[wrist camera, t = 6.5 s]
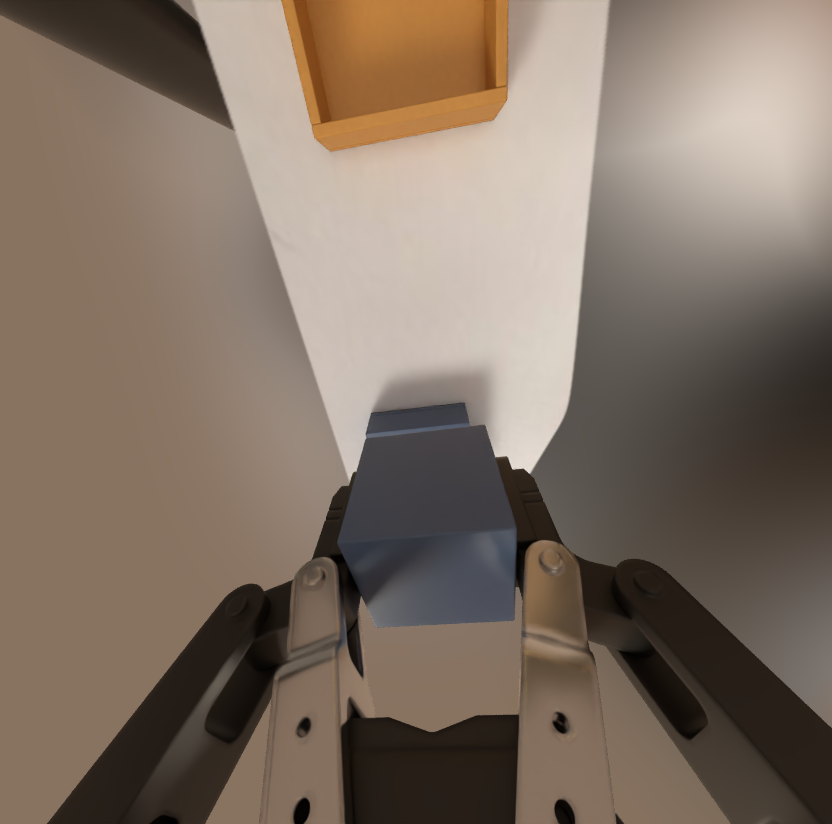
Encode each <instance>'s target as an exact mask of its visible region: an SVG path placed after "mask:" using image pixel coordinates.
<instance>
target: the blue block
mask: <svg viewBox="0 0 832 824" xmlns="http://www.w3.org/2000/svg"><path fill="white" fill-rule="evenodd" d="M337 543H338V546H339V548H340V550H341V552H342V554H343V557H344V559H345V561H346V563H347V565H348V568H349V570H350V572H351V574H352V576H353V578H354V581H355V583H356V585H357V587H358V589H359V592H360V594H361V596H362V598H363V600H364V602H365V605H366V607H367V609H368V611H369V613H370V615H371V618H372V620H373V622H374V624H375V626H376V627H377V628H379V627H399V626H418V625H438V624H456V623H457V624H458V623H477V622H497V621H513V620H514V619H515V587H516V549H517V526H516V523H515V520H514V517H513V513H512V510H511V507H510V504H509V500H508V497H507V494H506V491H505V488H504V484H503V481H502V478H501V475H500V471H499V468H498V465H497V462H496V458H495V455H494V452H493V449H492V446H491V442H490V439H489V436H488V433H487V429H486V426H485V425H478V426H469V427H460V428H452V429H443V430H434V431H426V432H417V433H408V434H399V435H391V436H382V437H373V438H367V439H366V440H365V443H364V447H363V451H362V454H361V458H360V462H359V465H358V469H357V473H356V476H355V480H354V483H353V487H352V491H351V494H350V498H349V502H348V505H347V509H346V513H345V516H344V520H343V524H342V527H341V531H340V534H339V538H338V542H337Z"/></svg>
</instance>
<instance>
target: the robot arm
mask: <svg viewBox="0 0 832 824" xmlns="http://www.w3.org/2000/svg"><path fill="white" fill-rule="evenodd" d="M495 458H496V462H497V465H498V468H499V471H500V475H501V478H502V481H503V484H504V488H505V491H506V494H507V497H508V500H509V504H510V507H511V510H512V513H513V517H514V520H515V523H516V526H517V549H516V587H519V589H520V593H521V596H522V600H523V606H522V631H521V632H522V633H521V658H520V682H519V706H518V707H519V708H518V715H481V716H480V715H478V716H474V717H471V718H469V719H466V720H464V721H462V722H459V723H457V724H454V725H451V726H449V727H446V728H444V729H441V730H439V731H436V732H428V731H425V730H422V729H419V728H417V727H414V726H411V725H409V724H406V723H403V722H400V721H398V720H395V719H392V718H389V717H386V718H385V717H384V718H376V715H375V709H374V703H373V699H372V695H371V692H370V688H369V683H368V677H367V669H366V662H365V653H364V643H363V635H362V627H361V619H360V618H361V617H360V613H359V604H360V598H361V594H360V592H359V589H358V587H357V585H356V583H355V581H354V578H353V576H352V574H351V572H350V570H349V568H348V565H347V563H346V561H345V559H344V557H343V554H342V552H341V550H340V548H339V546H338V543H337V542H338V538H339V534H340V531H341V527H342V524H343V520H344V516H345V513H346V509H347V505H348V502H349V498H350V494H351V491H352V487H353V483H354V480H355V476H356V473H357V472H354V473H353V474H352V477H351V481H350V484H349V486H342V487H341V488H340V489H339V490H338V491H337V493H336V494H335V495H334V496H333V498H332V502H331V504H330V507H329V511H328V513H327V516H326V521H325V522H324V525H323V528H322V531H321V535H320V538H319V540H318V543H317V546H316V549H315V552H314V555H313V558H312V560H311V561H309V562H307V563H306V564H305V565H303V566H302V567H301V568H300V570H299V571H298V572H297V573H296V575H295V577H294V579H293V580H291V581H289V582H287V583H284V584H282V585H279V586H277V587H274V588H272V589H269V590H267V591H263V589H262V588H261V587H260V586H259V585H257V584H246V585H243V586H241V587H239V588H237V589H235V590H234V591H232V592H231V593H230V594H228V595H227V596H226V597H225V598H224V600H223V601H222V602H221V603H220V604H219V606H218V607H217V608H216V609H215V611H214V612H213V613H212V614H211V616H210V617H209V619H208V620H207V621H206V622H205V623H204V625H203V626H202V627H201V628H200V630H199V631H198V632H197V634H196V635H195V636H194V638H193V639H192V640H191V641H190V642H189V644H188V645H187V646H186V648H185V649H184V650H183V652H182V653H181V654H180V655H179V656H178V658H177V659H176V660H175V662H174V663H173V664H172V665H171V667H170V668H169V669H168V671H167V672H166V673H165V674H164V676H163V677H162V678H161V679H160V681H159V682H158V683H157V684H156V686H155V687H154V688H153V690H152V691H151V692H150V693H149V695H148V696H147V697H146V699H145V700H144V701H143V702H142V704H141V705H140V706H139V707H138V709H137V710H136V711H135V713H134V714H133V715H132V716H131V718H130V719H129V720H128V721H127V723H126V724H125V725H124V727H123V728H122V729H121V731H120V732H119V733H118V734H117V736H116V737H115V738H114V739H113V741H112V742H111V743H110V744H109V746H108V747H107V748H106V750H105V751H104V752H103V753H102V755H101V756H100V757H99V758H98V760H97V761H96V762H95V763H94V765H93V766H92V767H91V769H90V770H89V771H88V772H87V774H86V775H85V776H84V778H83V779H82V780H81V781H80V783H79V784H78V785H77V786H76V788H75V789H74V790H73V791H72V793H71V794H70V796H69V797H68V798H67V799H66V800H65V802H64V803H63V804H62V805H61V807H60V808H59V809H58V811H57V812H56V813H55V814H54V816H53V817H52V818H51V819H50V821H49V822H48V823H47V824H205V823H206V820H207V819H208V817H209V815H210V813H211V811H212V810H213V808H214V806H215V804H216V802H217V800H218V798H219V796H220V794H221V792H222V790H223V789H224V787H225V785H226V783H227V781H228V779H229V777H230V776H231V774H232V772H233V770H234V768H235V766H236V764H237V762H238V760H239V759H240V757H241V755H242V753H243V751H244V749H245V747H246V745H247V743H248V742H249V740H250V738H251V736H252V734H253V732H254V730H255V728H256V726H257V725H258V722H259V721H260V719H261V717H262V715H263V713H264V711H265V709H266V708H267V706H268V704H269V702H270V700H271V698H272V700H271V709H270V720H269V730H268V740H267V750H266V760H265V769H264V779H263V788H262V799H261V808H260V819H259V824H624V823H623V822H622V820H621V819H620V818H619V817H618V815H617V814H616V813H615V809H614V801H613V793H612V785H611V778H610V769H609V761H608V753H607V746H606V738H605V730H604V722H603V715H602V707H601V698H600V691H599V683H598V675H597V668H596V663H595V659H594V656H593V653H592V652H591V651H590V649H589V644H588V641H592V642H595V643H597V644H601V645H604V646H606V647H607V648H608V650H609V651H610V653H611V654H612V656H613V657H614V658H615V660H616V661H617V663H618V664H619V666H620V667H621V668H622V670H623V671H624V673H625V674H626V676H627V677H628V678H629V680H630V681H631V683H632V684H633V685H634V687H635V688H636V690H637V691H638V693H639V694H640V695H641V697H642V698H643V700H644V701H645V702H646V704H647V705H648V707H649V708H650V709H651V711H652V712H653V714H654V715H655V717H656V718H657V720H658V721H659V722H660V724H661V725H662V727H663V728H664V729H665V731H666V732H667V734H668V735H669V737H670V738H671V739H672V741H673V742H674V744H675V745H676V746H677V748H678V749H679V751H680V752H681V754H682V755H683V756H684V758H685V759H686V761H687V762H688V764H689V765H690V766H691V767H692V769H693V771H694V772H695V773H696V775H697V776H698V778H699V779H700V781H701V782H702V783H703V785H704V786H705V788H706V789H707V791H708V792H709V793H710V795H711V796H712V798H713V799H714V800H715V802H716V803H717V805H718V806H719V808H720V809H721V810H722V812H723V813H724V815H725V816H726V817H727V819H728V820H729V822H730V823H731V824H832V728H831V727H830V726H828V725H827V723H825V722H824V721H823V720H822V719H821V718H820V717H819V716H818V715H817V714H816V713H815V712H814V711H813V710H812V709H811V708H810V707H809V706H807V704H805V703H804V702H803V701H802V700H801V699H800V698H799V697H798V696H797V695H796V694H795V693H794V692H793V691H792V690H791V689H790V688H789V687H788V686H786V685H785V684H784V683H783V682H782V681H781V680H780V679H779V678H778V677H777V676H776V675H775V674H774V673H773V672H772V671H771V670H770V669H769V668H768V667H766V666H765V665H764V664H763V663H762V662H761V661H760V660H759V659H758V658H757V657H756V656H755V655H754V654H753V653H752V652H751V651H750V650H749V649H748V648H746V647H745V646H744V645H743V644H742V643H741V642H740V641H739V640H738V639H737V638H736V637H735V636H734V635H733V634H732V633H731V632H730V631H729V630H728V629H726V628H725V627H724V626H723V625H722V624H721V623H720V622H719V621H718V620H717V619H716V618H715V617H714V616H713V615H712V614H711V613H710V612H709V611H708V610H706V608H704V607H703V606H702V605H701V604H700V603H699V602H698V601H697V600H696V599H695V598H694V597H693V596H692V595H691V594H690V593H689V592H688V591H687V590H685V589H684V588H683V587H682V586H681V585H680V584H679V583H678V582H677V581H676V580H675V579H674V578H673V577H672V576H671V575H670V574H668V573H667V572H666V571H664V570H663V569H662V568H660V567H659V566H657V565H655V564H653V563H651V562H648V561H645V560H640V559H628V560H624V561H622V562H620V564H618V565H617V567H612V566H607V565H603V564H598V563H594V562H590V561H587V560H584V559H582V558H580V557H578V556H576V555H575V554H573V553H572V552H571V551H570V550H569V549H568V548H567V547H566V546H564V544H563V543H562V541H561V539H560V537H559V535H558V533H557V530H556V528H555V526H554V523H553V521H552V519H551V517H550V514H549V512H548V510H547V507H546V505H545V503H544V502H543V498H542V496H541V494H540V492H539V489H538V487H537V484H536V482H535V480H534V478H533V477H532V476H531V475H530V474H529V473H528V472H527V471H526V470H524V469H515V470H512V468H511V465H510V462H509V459H508V457H507V456H505V457H495Z"/></svg>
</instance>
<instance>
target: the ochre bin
mask: <svg viewBox="0 0 832 824" xmlns="http://www.w3.org/2000/svg"><path fill="white" fill-rule="evenodd" d="M281 1H282V5H283V9H284V13H285V17H286V21H287V26H288V30H289V34H290V38H291V42H292V46H293V51H294V55H295V59H296V63H297V67H298V71H299V76H300V80H301V84H302V88H303V92H304V96H305V101H306V105H307V109H308V113H309V117H310V121H311V124H312V130H313V134H314V138H315V139H316V140H317V141H318V142H320V143H321V144H322V145H323V146H325V147H326V148H327V149H329V150H330V151H336V150H341V149H346V148H351V147H356V146H362V145H367V144H372V143H377V142H382V141H387V140H393V139H398V138H403V137H408V136H413V135H419V134H424V133H429V132H434V131H439V130H444V129H450V128H455V127H460V126H465V125H470V124H476V123H481V122H486V121H491V120H494V118H495V117H496V116H497V114H498V113H499V111H500V110H501V108H502V107H503V105H504V104H505V103H506V101H507V63H508V0H281Z"/></svg>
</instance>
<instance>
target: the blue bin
mask: <svg viewBox="0 0 832 824" xmlns="http://www.w3.org/2000/svg"><path fill="white" fill-rule="evenodd" d="M469 426H470V425H469V419H468V415H467V411H466V407H465V403H458V404H450V405H441V406H432V407H423V408H415V409H406V410H397V411H388V412H380V413H371V416H370V419H369V423H368V427H367V431H366V437H367V438H373V437H382V436H391V435H399V434H408V433H417V432H426V431H434V430H443V429H452V428H460V427H469Z"/></svg>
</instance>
